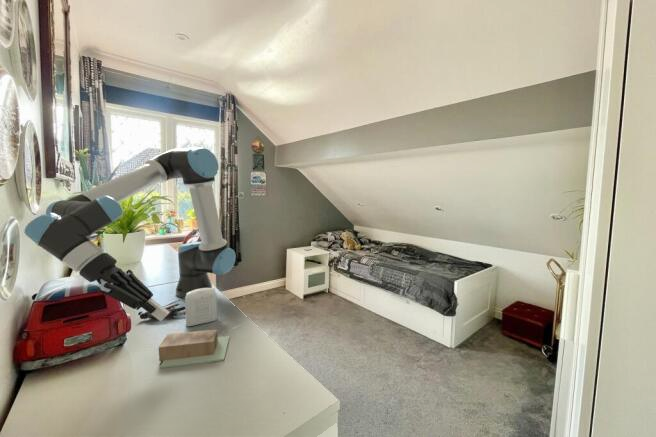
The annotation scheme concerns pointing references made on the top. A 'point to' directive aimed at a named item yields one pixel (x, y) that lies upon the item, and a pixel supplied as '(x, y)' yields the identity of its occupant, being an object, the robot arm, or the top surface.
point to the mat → (217, 356)
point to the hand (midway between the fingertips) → (165, 316)
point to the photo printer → (200, 306)
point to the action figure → (172, 311)
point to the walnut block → (188, 345)
